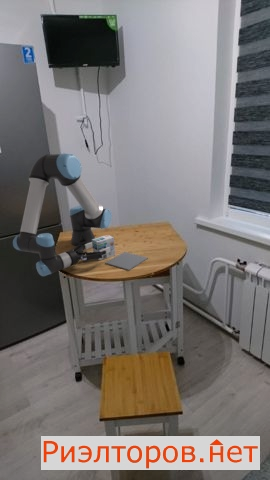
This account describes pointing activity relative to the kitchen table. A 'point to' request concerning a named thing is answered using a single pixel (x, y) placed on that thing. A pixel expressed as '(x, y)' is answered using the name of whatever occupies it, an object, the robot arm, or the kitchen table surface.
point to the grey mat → (126, 261)
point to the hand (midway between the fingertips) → (102, 246)
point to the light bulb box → (104, 245)
